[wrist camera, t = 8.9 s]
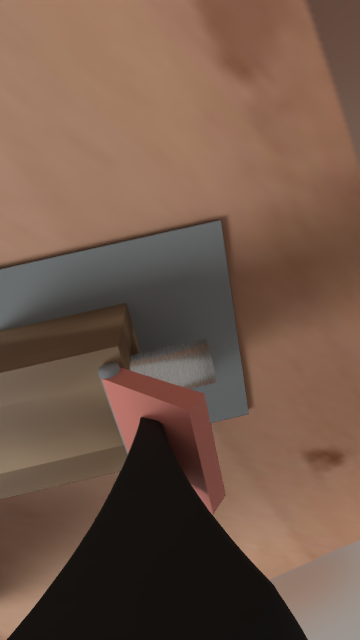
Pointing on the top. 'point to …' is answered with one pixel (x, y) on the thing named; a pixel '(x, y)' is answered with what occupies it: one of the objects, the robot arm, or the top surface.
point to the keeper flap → (168, 424)
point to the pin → (177, 364)
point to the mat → (144, 298)
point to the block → (60, 399)
